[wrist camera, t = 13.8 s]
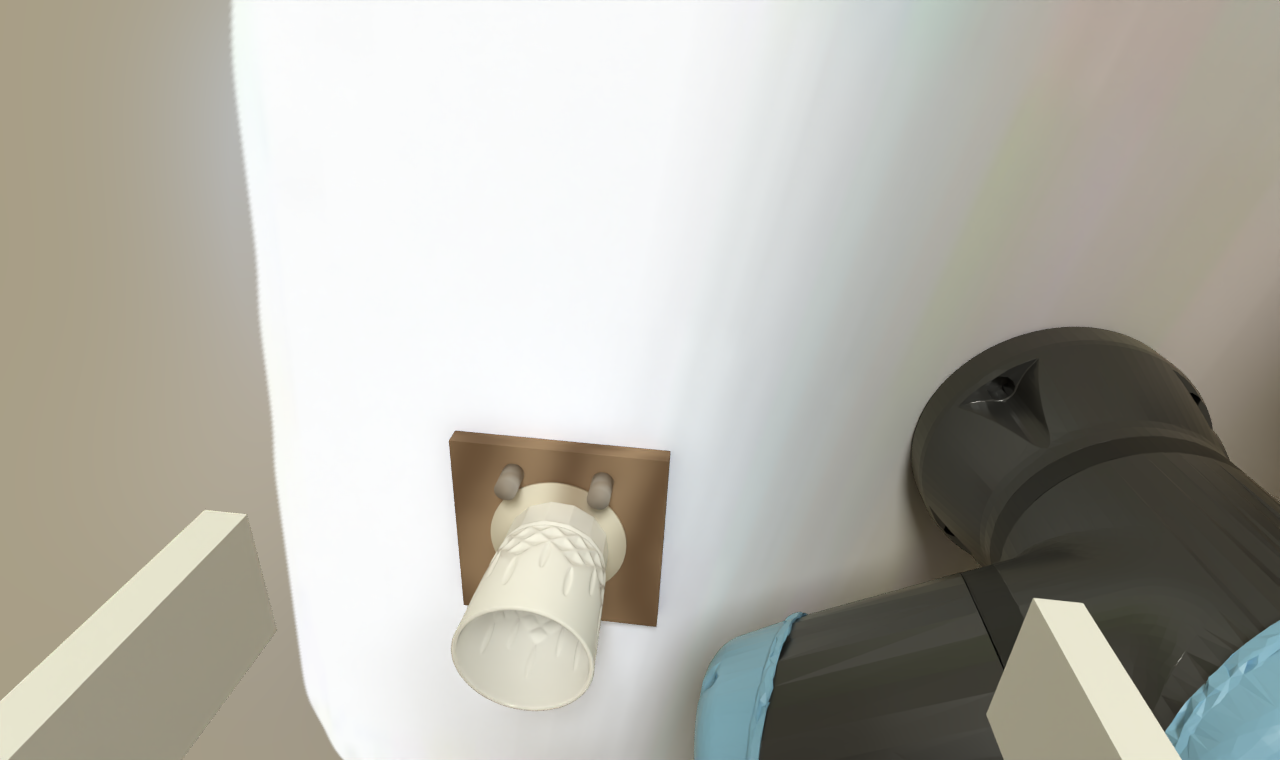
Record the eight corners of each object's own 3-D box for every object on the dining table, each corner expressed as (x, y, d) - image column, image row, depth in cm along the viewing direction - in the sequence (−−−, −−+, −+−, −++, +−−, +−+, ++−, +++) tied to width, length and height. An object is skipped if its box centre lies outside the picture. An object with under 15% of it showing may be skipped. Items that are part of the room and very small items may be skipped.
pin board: (670, 451, 44) (667, 480, 41) (657, 614, 51) (654, 649, 48) (455, 430, 45) (437, 457, 42) (469, 593, 52) (454, 625, 49)
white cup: (498, 575, 49) (449, 697, 40) (504, 483, 45) (451, 595, 36) (610, 595, 48) (586, 722, 40) (624, 504, 45) (601, 622, 36)
